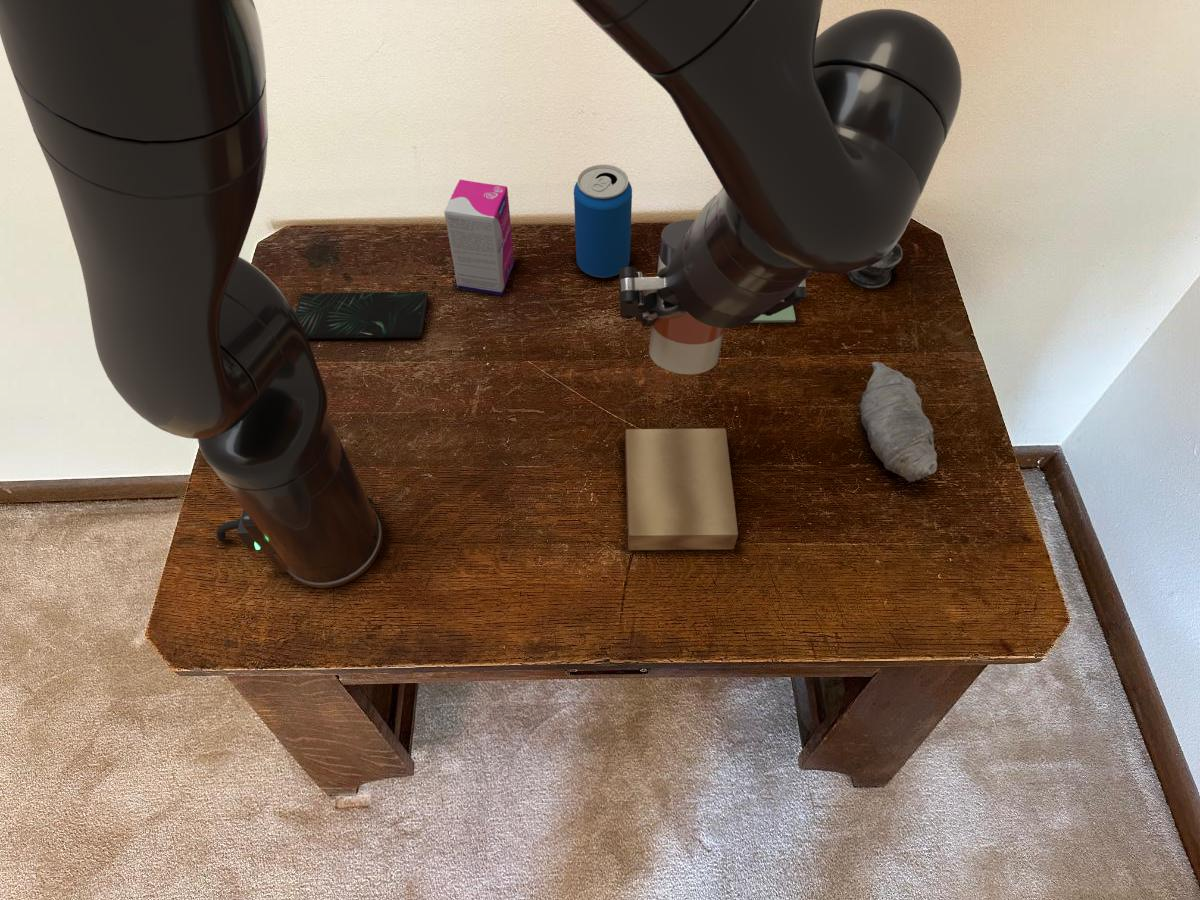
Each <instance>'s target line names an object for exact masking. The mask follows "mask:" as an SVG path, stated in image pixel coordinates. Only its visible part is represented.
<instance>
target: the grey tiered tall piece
mask: <svg viewBox="0 0 1200 900" xmlns="http://www.w3.org/2000/svg"><path fill="white" fill-rule="evenodd" d="M903 254H904V252H903V249H902V247H901V244H899V242H897V244H896V245H895V247H894V248H893V249H892V250H891V251H890V252H889V253H888V254H887V255H886V256H885V257H884V258H883V259H882V260H880V261H879V262H877V263H875V264H873V265H871V266H869V267H868V268H866V269H863V270H860V271H855V272H851V273H846V275H847V277H848V279H850V280H851V282H853V284H856V285H857V286H860V287H862V288H864V289H865V288H866V289H880V288H883V287H885V286H886V285H888V284H889V283H890V281H891V279H892V271H891V270H893V269H894V268H895V267H896V265H898V264H899V263H900V262H901V260H902V259H903Z"/></svg>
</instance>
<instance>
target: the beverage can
mask: <svg viewBox="0 0 1200 900" xmlns="http://www.w3.org/2000/svg"><path fill="white" fill-rule="evenodd" d="M632 204H633V187H632V184H631V183H630V181H629V177H628V175H627V173H626V172H625V171H624V170H622V169H621V168H620V167H617V166H615V165H612V164H611V165H610V164H596V165H591V166H589V167H587V168H585V169H583V170H582V171H581V172H580V174H578V176H577V181H576V182H575V184H574V187H573V206H574V231H575V233H574V234H575V255H576V256H575V257H576V264H577V266H578V267H579V269H580V270H581V271H582V272H583V273H585V274H587V275H589V276H591V277H595V278H603V279H604V278H605V279H606V278H610V277H615V276H617V275H620V269H621V268H624V267H627V266H629V265H630V260H631V239H632V238H631V237H632V236H631V234H632V209H633V207H632V206H633V205H632Z"/></svg>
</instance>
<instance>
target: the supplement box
mask: <svg viewBox="0 0 1200 900" xmlns="http://www.w3.org/2000/svg"><path fill="white" fill-rule="evenodd" d="M508 189H509V188H508V186H506V185H500V184H492V183H484V182H479V181H473V180H466V179H459V180H458V182H457V184H456V186H455V187H454V190H453V192H452V194H451V197H450V198H449V200H448V201H447V205H446V207H445V209H444V211H443V212H444V218H445V223H446V229H447V230H446V231H447V235H448V241H449V246H450V252H451V258H452V264H453V269H454V275H455V283H456V288H457V289H458V290H464V291H473V292H478V293H486V294H489V295H490V294H491V295H496V296H497V295H498V296H503V294H504V291H505V287H506V284H507V282H508V279H509V277H510V274H511V272H512V269H513V268H514V266H515V256H514V245H513V235H512V226H511V225H512V223H511V213H510V201H509V192H508Z"/></svg>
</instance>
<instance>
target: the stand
mask: <svg viewBox="0 0 1200 900" xmlns="http://www.w3.org/2000/svg"><path fill="white" fill-rule="evenodd" d="M624 435H625V436H624V437H625V438H624V439H625V440H624V451H625V452H624V454H625V455H624V457H625V458H624V459H625V489H626V490H625V491H626V522H627V524H626V525H627V526H626V527H627V550H628V551H685V550H687V551H688V550H689V551H690V550H691V551H695V550H696V551H697V550H699V551H701V550H702V551H703V550H705V551H706V550H734V549H735V547H736V543H737V539H738V537H739V528H738V520H737V513H736V503H735V494H734V486H733V479H732V478H733V477H732V471H731V470H732V469H731V462H730V453H729V445H728V437H727V436H728V435H727V429H726V428H725V427H724V428H723V427H722V428H721V427H719V428H717V427H715V428H626V429H625V434H624Z"/></svg>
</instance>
